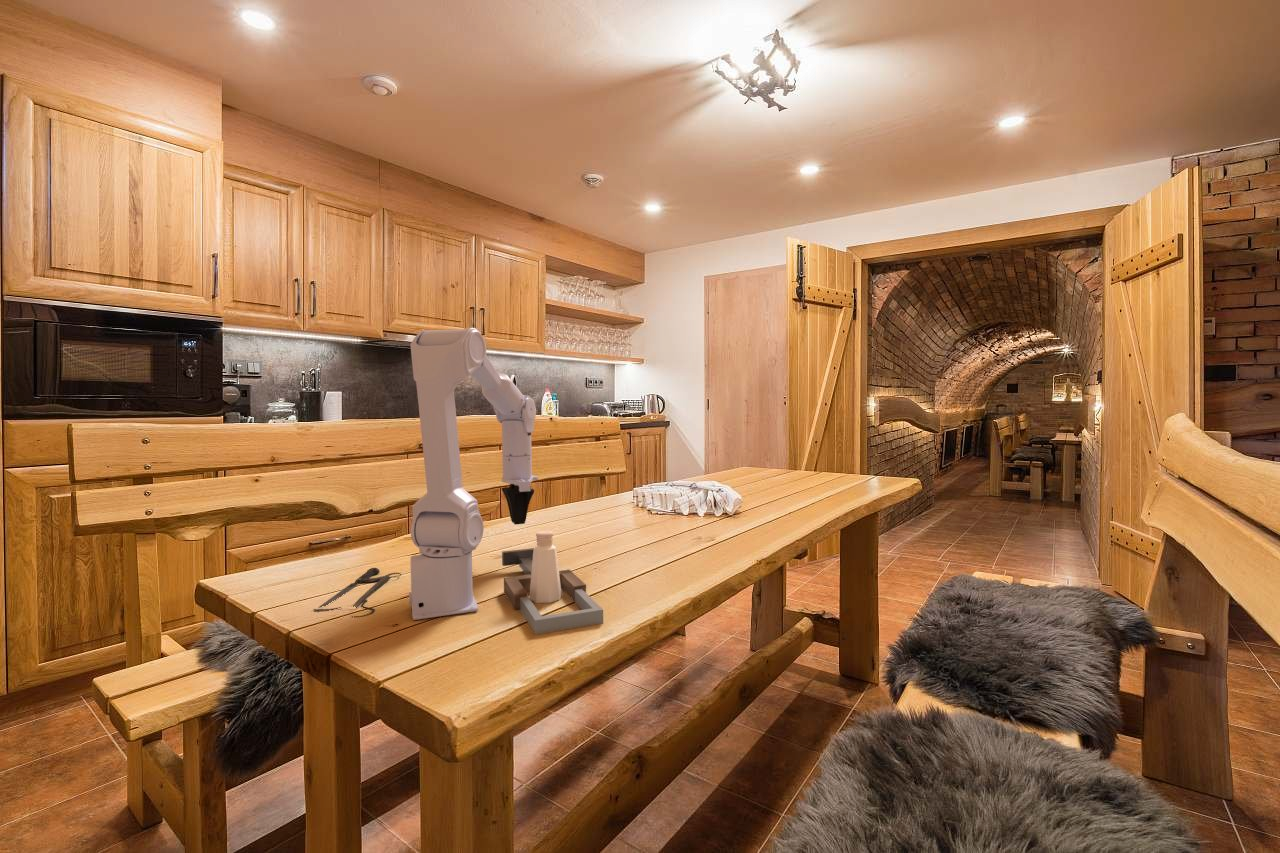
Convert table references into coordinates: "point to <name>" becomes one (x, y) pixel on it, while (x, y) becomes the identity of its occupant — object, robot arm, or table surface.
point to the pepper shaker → (545, 570)
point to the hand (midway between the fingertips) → (518, 522)
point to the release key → (519, 559)
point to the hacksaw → (362, 579)
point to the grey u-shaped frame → (563, 615)
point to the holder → (521, 584)
